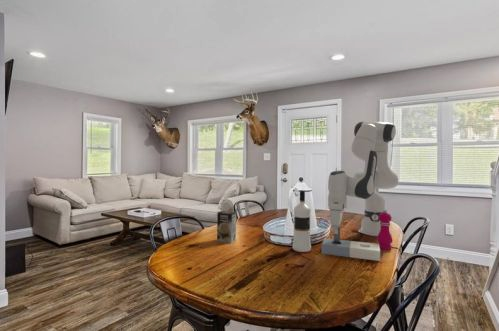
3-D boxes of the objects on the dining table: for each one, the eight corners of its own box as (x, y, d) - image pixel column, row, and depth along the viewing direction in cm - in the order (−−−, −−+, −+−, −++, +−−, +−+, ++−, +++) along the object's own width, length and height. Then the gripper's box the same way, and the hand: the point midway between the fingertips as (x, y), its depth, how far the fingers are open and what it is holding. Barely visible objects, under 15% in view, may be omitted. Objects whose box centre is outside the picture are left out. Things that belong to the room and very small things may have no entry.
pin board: (324, 246, 150) (324, 238, 150) (379, 253, 140) (379, 243, 140) (321, 253, 139) (321, 244, 138) (380, 261, 129) (380, 251, 129)
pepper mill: (394, 250, 144) (394, 211, 143) (378, 249, 145) (379, 210, 145) (390, 246, 151) (390, 208, 150) (375, 245, 152) (376, 208, 152)
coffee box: (216, 241, 158) (216, 212, 158) (222, 238, 164) (222, 210, 164) (231, 243, 154) (231, 213, 154) (236, 240, 160) (236, 211, 160)
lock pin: (333, 250, 144) (333, 222, 144) (340, 251, 143) (340, 223, 143) (332, 252, 141) (333, 223, 141) (339, 252, 139) (340, 224, 139)
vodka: (291, 247, 149) (291, 189, 148) (308, 247, 149) (309, 189, 148) (294, 252, 139) (295, 191, 139) (313, 252, 140) (313, 191, 139)
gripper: (332, 200, 152) (332, 226, 152) (328, 206, 133) (327, 235, 133) (345, 201, 150) (344, 227, 150) (342, 207, 131) (341, 237, 131)
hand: (336, 231), depth 141 cm, fingers open, 8 cm apart
